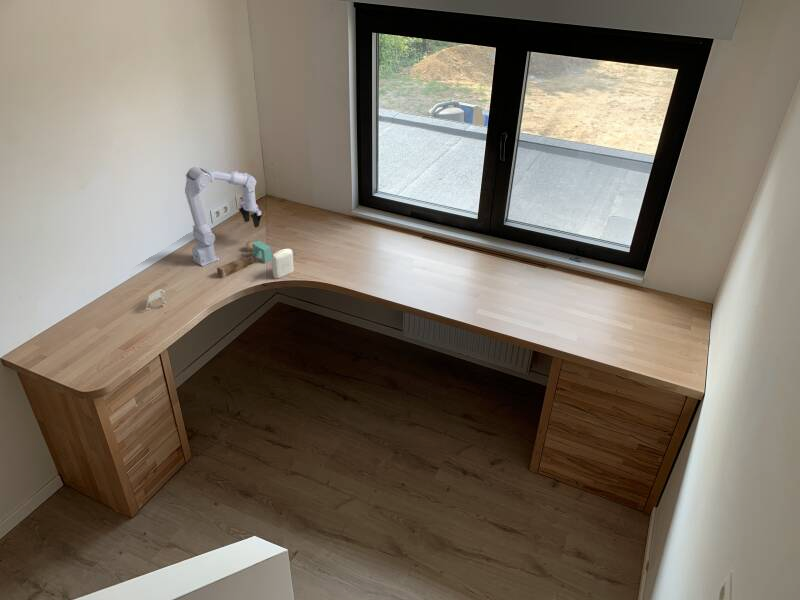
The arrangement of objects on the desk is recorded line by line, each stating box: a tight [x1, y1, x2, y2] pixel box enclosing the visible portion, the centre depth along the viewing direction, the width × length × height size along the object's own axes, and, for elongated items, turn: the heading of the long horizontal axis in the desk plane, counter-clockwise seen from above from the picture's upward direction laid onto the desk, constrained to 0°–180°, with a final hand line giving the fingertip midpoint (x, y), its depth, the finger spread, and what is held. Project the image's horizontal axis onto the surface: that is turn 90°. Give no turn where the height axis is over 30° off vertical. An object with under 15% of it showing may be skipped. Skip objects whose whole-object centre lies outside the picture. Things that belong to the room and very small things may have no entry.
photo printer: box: [271, 248, 295, 279], centre depth 280 cm, size 10×4×12 cm, turn 135°
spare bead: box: [245, 241, 255, 253], centre depth 299 cm, size 4×4×4 cm
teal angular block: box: [252, 240, 273, 264], centre depth 292 cm, size 4×9×7 cm, turn 48°
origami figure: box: [144, 288, 167, 312], centre depth 259 cm, size 12×8×5 cm
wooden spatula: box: [216, 255, 254, 279], centre depth 284 cm, size 18×3×4 cm, turn 138°
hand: (251, 224), depth 301 cm, fingers open, 7 cm apart
